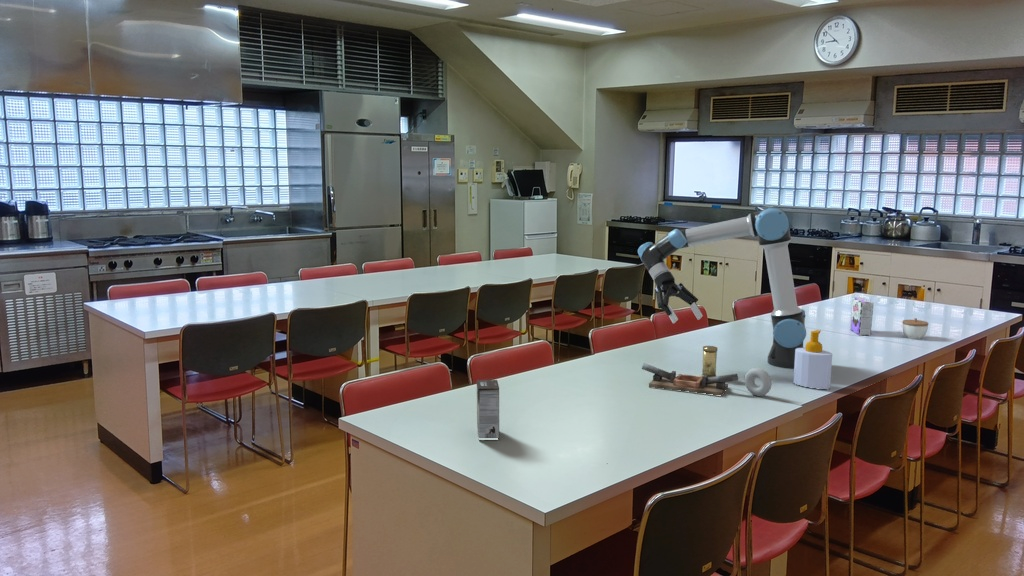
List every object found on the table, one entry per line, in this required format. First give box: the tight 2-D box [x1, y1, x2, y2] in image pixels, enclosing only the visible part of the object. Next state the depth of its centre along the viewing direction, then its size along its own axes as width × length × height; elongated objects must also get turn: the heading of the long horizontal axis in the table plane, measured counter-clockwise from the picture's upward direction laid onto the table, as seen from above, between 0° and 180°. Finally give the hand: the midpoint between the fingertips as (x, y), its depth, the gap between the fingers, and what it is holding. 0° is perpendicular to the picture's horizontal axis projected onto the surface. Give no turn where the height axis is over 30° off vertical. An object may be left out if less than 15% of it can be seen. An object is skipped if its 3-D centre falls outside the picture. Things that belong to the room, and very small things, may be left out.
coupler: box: [701, 345, 718, 378], centre depth 284 cm, size 5×5×12 cm
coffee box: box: [476, 379, 500, 439], centre depth 223 cm, size 9×6×16 cm
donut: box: [744, 367, 773, 397], centre depth 262 cm, size 10×4×10 cm, turn 41°
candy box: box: [849, 297, 875, 337], centre depth 362 cm, size 14×6×16 cm, turn 172°
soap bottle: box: [793, 329, 833, 390], centre depth 273 cm, size 13×8×20 cm, turn 47°
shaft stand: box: [641, 362, 739, 397], centre depth 272 cm, size 35×12×7 cm, turn 63°
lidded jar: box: [901, 317, 929, 340], centre depth 351 cm, size 11×11×9 cm
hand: (688, 319), depth 291 cm, fingers open, 13 cm apart
